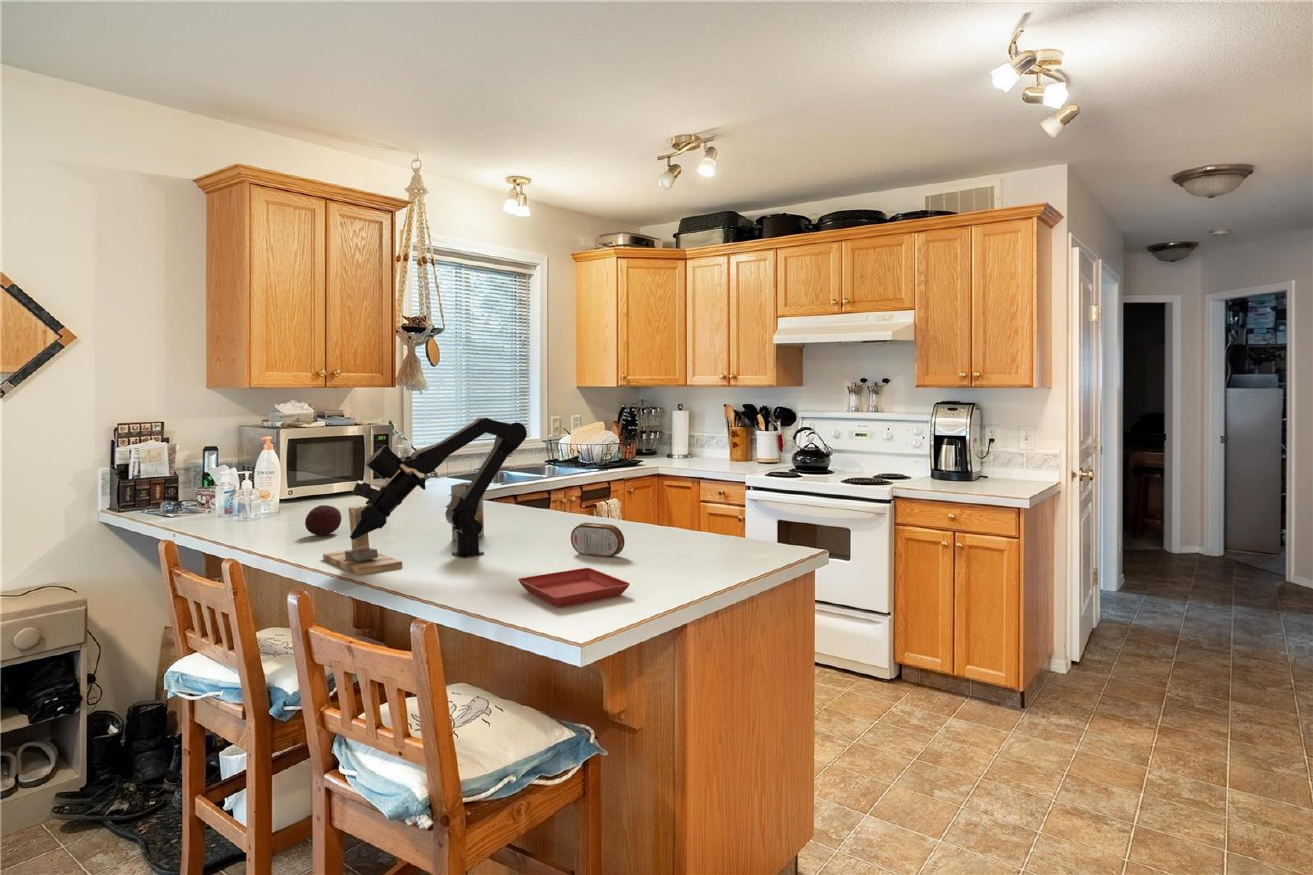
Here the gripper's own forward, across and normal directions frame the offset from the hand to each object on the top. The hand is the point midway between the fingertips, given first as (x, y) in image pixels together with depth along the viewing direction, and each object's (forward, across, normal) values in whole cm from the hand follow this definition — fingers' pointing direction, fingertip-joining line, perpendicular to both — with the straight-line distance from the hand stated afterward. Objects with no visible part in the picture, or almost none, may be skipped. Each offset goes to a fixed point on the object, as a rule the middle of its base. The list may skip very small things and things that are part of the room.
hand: (352, 536), depth 196 cm
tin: (-37, +9, +48) cm, 62 cm away
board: (+4, -2, +6) cm, 8 cm away
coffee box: (-16, -29, +27) cm, 42 cm away
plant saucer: (-28, +45, +40) cm, 66 cm away
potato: (+14, -48, -3) cm, 50 cm away
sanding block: (+2, 0, +5) cm, 6 cm away
